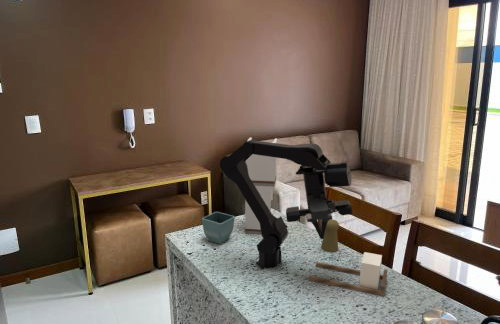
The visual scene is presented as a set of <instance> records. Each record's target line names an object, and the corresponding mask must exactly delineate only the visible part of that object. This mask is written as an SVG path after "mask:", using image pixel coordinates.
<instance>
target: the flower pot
mask: <svg viewBox="0 0 500 324" xmlns="http://www.w3.org/2000/svg"><path fill="white" fill-rule="evenodd" d="M235 219H236V217H235V215H231V214H228V213H224V212H220V211H214V212H213V213H210V214H208V215H206V216H203V217H202V218H201V222H202V229H203V233H204V235H205V237H206V239H207V240H208V241H209V242H212V243H216V244H219V245H220V244H222V243H224V242H226V241H227V240H229V238H230V236H231V235H232V233H233V230H234V225H235Z"/></svg>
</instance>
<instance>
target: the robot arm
mask: <svg viewBox="0 0 500 324" xmlns="http://www.w3.org/2000/svg"><path fill="white" fill-rule="evenodd" d="M271 142H272V141H270V142H269V141H261V140H257V139H253V138H252V140H249V141H248V140H247V141H245V142H244V143H243V144H242V145H241V146H240V147H238V148H237V149H236V150H235V151H233V152H232V153H230V154H227V155H225V156H223V157H221V159H220V161H219V170H220V171H221V172H222V173H223V174H224V176H225V177H226V178H227V179H228V180H230V181H231V182H233V183H234V184H235V185H236V187H237V188H238V190H239V191H240V193H241V195H242V196H243V198H244V201H245V200H246V202H247V203H248V205H249V206H250V208H251V210H252V211H253V213H254V215H255V216H256V218H257V220H258V221H259V223H260V229H261V234H262V235H261V237H262V238H261V240H260V241H259V242H258V244H256V249H257V251H258V261H256V262H255V265H257V266H258V267H260V268H261V269H262V270H264V269H274V268H278V266H279V264H281V263H282V250H281V248H282V247H281V246H282V245H283V243H284V241H285V240H286V239H287V238H288V235H289V230H288V227H289V226H288V225H287V224H286V223H285V222H284V218H283V217H282V216H279V217H276V216H275V215H273V213H272V211H271V212H270V210H269V208H268V207H267V205H266V204H265V202H264V200H263V199H262V197H261V195H260V194H259V192H258V190H257V189H256V187H255V185H254V184H253V182H252V180H251V179H250V177H249V174H248V168H247V164H246V160H247V159H248V158H249V157H250V156H251V155H252V154H255V155H262V156H269V157H275V158H277V159H284V160H288V161H290V162H293V163H295V164H296V165H300V166H299V168H298V170H297V171H296V172H295V175H303V182H304V183H303V184H304V188H305V189H304V191H305V197H306V204H307V208H302V209H300V207H299V205H298V206H291V207H290V206H289V207H287V208H286V209H285V217H286V222H287V223H292V222H293V223H294V222H299V220H300V219H301V217H305V218H306V222H307V223H311V224H312V225H313V227H314V228H315V231H316V232H317V234H318V236H319V238H320V240H323V238H324V234H325V229H326V225H327V223H328V221H329V220H330V219H333V214H334V213H336V212H338V214H339V215H341V216H348V215H352V214H353V208H352V204H351V203H350V201H349V200H347V199H344V200H338V201H335V200H334V199H327V192H326V191H327V190H326V186H329V188H337V187H340V188H341V187H351V186H352V171H351V169H350V166H349V163H348V161H342V162H332V161H330V159H328V157H327V156H325V154H324V153H323V150H322V148H321V146H320V145H319V144H316V143H301V144H292V145H291V144H285V143H284V144H283V143H278V142H277V143H271ZM325 184H326V185H325ZM318 220H320V224H319V221H318Z"/></svg>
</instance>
